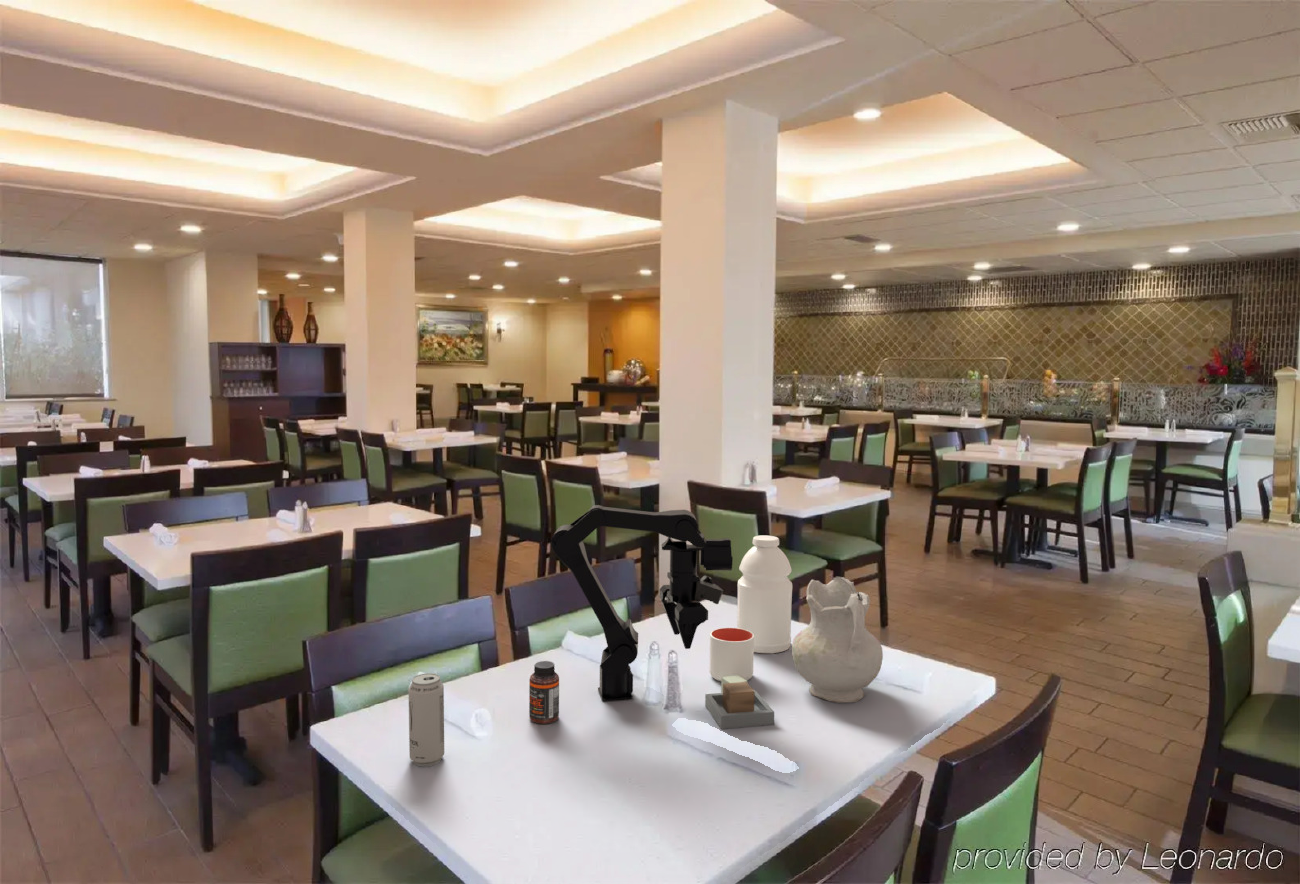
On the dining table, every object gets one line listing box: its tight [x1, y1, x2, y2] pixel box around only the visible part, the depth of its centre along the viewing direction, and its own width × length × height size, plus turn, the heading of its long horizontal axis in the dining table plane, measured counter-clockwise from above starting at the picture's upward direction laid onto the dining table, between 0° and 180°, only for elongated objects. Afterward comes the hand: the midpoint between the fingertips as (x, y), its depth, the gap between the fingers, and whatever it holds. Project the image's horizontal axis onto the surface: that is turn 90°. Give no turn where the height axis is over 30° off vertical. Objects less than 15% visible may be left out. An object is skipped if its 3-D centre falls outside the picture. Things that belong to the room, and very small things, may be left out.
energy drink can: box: [408, 672, 445, 767], centre depth 142 cm, size 6×6×15 cm
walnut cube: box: [723, 681, 755, 713], centre depth 163 cm, size 5×5×5 cm
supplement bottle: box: [528, 660, 560, 725], centre depth 160 cm, size 6×6×11 cm
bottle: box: [736, 534, 793, 654], centre depth 204 cm, size 14×14×28 cm
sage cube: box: [720, 675, 748, 693], centre depth 172 cm, size 4×4×4 cm
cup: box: [708, 627, 755, 682], centre depth 183 cm, size 10×10×10 cm
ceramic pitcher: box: [791, 576, 884, 704], centre depth 173 cm, size 22×20×25 cm
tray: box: [704, 689, 775, 730], centre depth 163 cm, size 11×11×3 cm
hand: (682, 641), depth 172 cm, fingers open, 9 cm apart
